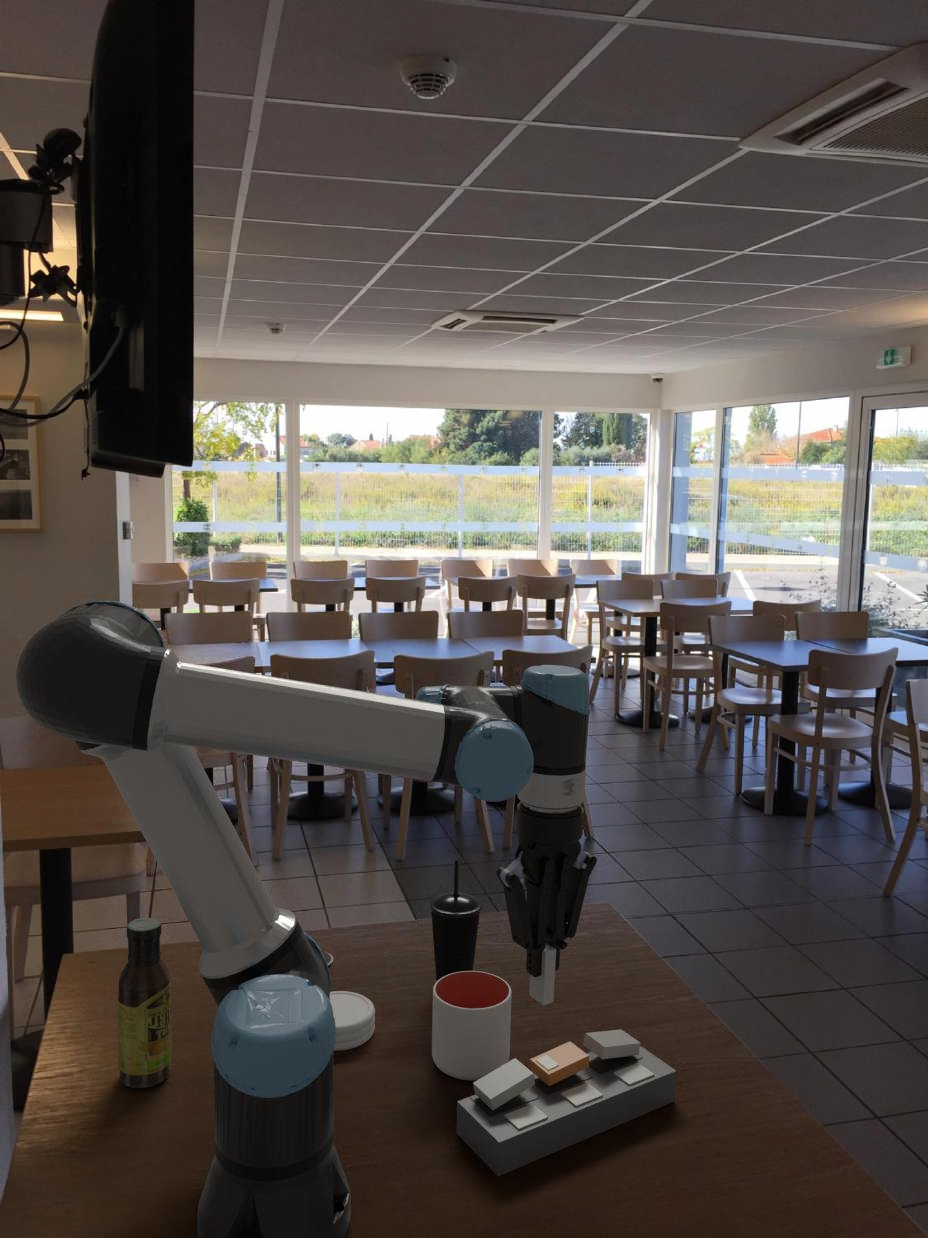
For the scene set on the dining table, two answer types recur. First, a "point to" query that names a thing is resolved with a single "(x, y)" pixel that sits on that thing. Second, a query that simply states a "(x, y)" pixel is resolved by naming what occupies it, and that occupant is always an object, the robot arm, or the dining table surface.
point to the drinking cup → (454, 929)
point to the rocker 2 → (559, 1063)
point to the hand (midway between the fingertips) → (541, 998)
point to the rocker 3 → (611, 1044)
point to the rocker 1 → (504, 1084)
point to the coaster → (352, 1019)
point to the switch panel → (565, 1110)
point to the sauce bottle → (144, 1009)
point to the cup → (471, 1024)
